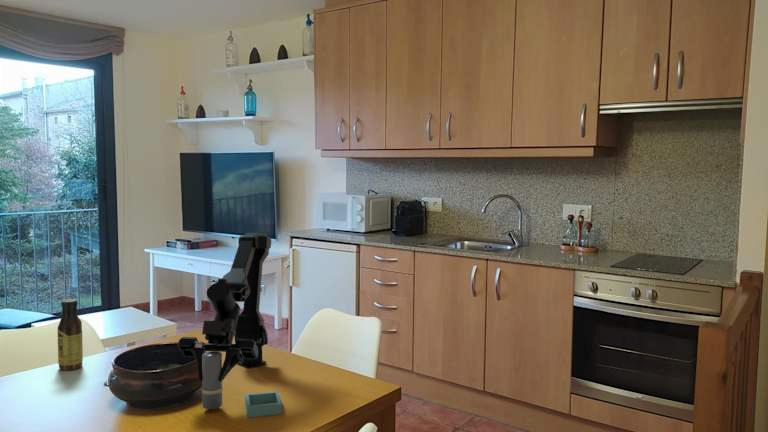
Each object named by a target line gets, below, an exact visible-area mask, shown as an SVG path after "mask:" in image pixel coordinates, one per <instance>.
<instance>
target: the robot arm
mask: <svg viewBox="0 0 768 432" xmlns="http://www.w3.org/2000/svg"><path fill="white" fill-rule="evenodd" d="M271 247H272V237H270V236H269V235H268V234H267V233H266V232H265V233H263V232H262V233H261V232H246V233H245V234H243V235H240V236H239V238H238V246H237V250H236V253H235V256H234V259H233V262H232V264H231V268H230V270H229V271H228V272H227V273H225V274H224V275H223V276H222V278H218V279H217V282H214V283H213V284H211V285H210V286H209V287H208V288H207V290H206V297H207V299H208V301H209V303H210V305H211V307H212V310H213V311H214V312H215V315H214V319H212V320H204V321H203V326H202V331H201V335H204V339H205V341H207V342H203V341H199V340H198V338H197V337H196V336H194V337H193V336H183V337H181V338H179V340H178V342H177V345H176V346H177V349H178V350H179V352H180V353H181V355H182V356H183V357H184V358H194V359H195V360H196V362H197V373H198V380H199V382H202V354H204V353H207V352H221V353H223V352H224V353H225V358H224V361H223V362H222V370H221V373H220V377H219V381H220V382H222V383H223V381H224V379H225V378H226V377H227V375H229V373H230V372H231V370H233V369H234V368H235V366H237V365H239V366H242V367H245V368H246V369H250V368H251V369H252V368H255V367H258V366H262V365H263V366H264V365H265V364H267V361H265V360H263V347H264V346H265V345H268V344H269V342H268V341H269V336H268V332H267V330H266V326H265V325H264V324H265V321H264V318H263V316H262V314H261V312H260V303H261V302H260V301H261V291H262V290H261V289H262V287H261V286H262V275H263V264H264V261H265V260H266V259H267V257H268V256H269V254H270V249H271ZM239 303H243V310H241V307H240V305H239ZM233 340H234V343H233Z"/></svg>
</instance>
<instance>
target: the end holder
mask: <svg viewBox="0 0 768 432" xmlns="http://www.w3.org/2000/svg"><path fill="white" fill-rule="evenodd" d="M244 402H245V403H244V406H245V411H246V412H245V413H246V418H254V417H255V418H257V417H265V416H266V417H267V416H273V415H274V416H275V415H283V402H282V399H281V395H280V392H279V391H276V390H275V391H268V392H267V391H266V392H265V391H264V392H257V393H245V394H244Z"/></svg>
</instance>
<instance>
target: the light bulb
mask: <svg viewBox="0 0 768 432" xmlns="http://www.w3.org/2000/svg"><path fill="white" fill-rule="evenodd" d="M222 366H223V352H217V351H207V353H204V354H202V381H201V383H202V384H201V386H202V387H201V394H202V408H203V409H205V410H215V409H219V408H220V407H222V406H223V390H224V388H223V381H222V382H220V381H219V377H220V373H221V370H222Z"/></svg>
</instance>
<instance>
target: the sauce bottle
mask: <svg viewBox="0 0 768 432" xmlns="http://www.w3.org/2000/svg"><path fill="white" fill-rule="evenodd" d="M60 303H61V304H60V306H61V307H62V308H61V315H62V316H61V318H60V321H59V323H58V325H57V363H58V368H59V369H60V370H61V371H73V370H78V369H80V368H81V367H82V366H83V360H84V359H83V358H84V357H83V356H84V355H83V354H84V353H83V351H84V350H83V346H84V345H83V330H82V329H83V328H82V327H83V325H82V323H83V322H82V320H81V318H80V317H79V315H78V311H77V310H78V305H79V303H78V299H77V298H66V299H63V300H61V302H60Z"/></svg>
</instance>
